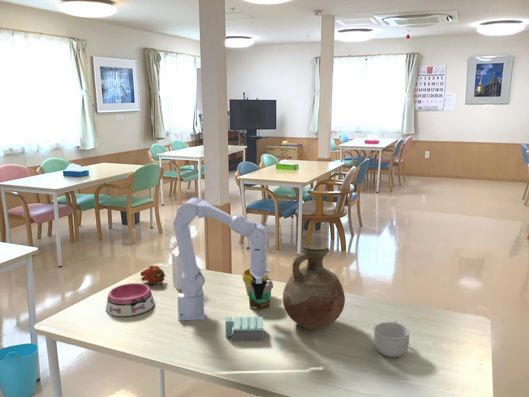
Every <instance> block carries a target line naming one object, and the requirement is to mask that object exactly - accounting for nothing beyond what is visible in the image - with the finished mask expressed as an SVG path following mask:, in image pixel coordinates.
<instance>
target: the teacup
mask: <svg viewBox="0 0 529 397" xmlns="http://www.w3.org/2000/svg"><path fill="white" fill-rule="evenodd" d="M410 333H411V332H410V328H408V327H407V326H406V325H404V324H402V323H399V322H398V323H397V320H395V319H391V321H384V322H380V323H378V324H376V325H375V326H374V327H373V338H374V346H375V348H376V350H377V351H378V352H379V353H380V354H382V355H383V356H386V357H389V358H399V357H401V356H402V355H405V353H406V352H408V349H409V344H410Z"/></svg>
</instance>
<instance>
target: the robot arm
mask: <svg viewBox="0 0 529 397" xmlns="http://www.w3.org/2000/svg"><path fill="white" fill-rule="evenodd" d="M207 217H208V218H211V219H213V220H215V221H218V222H220V223H223V224H224V225H228V226H229V229H230V230H231V231H233V232H235V233H236V234H238V235H241V236H243V237H245V238H248V240H249V242H250V246H249V247H250V248H249V252H250V255H249V257H250V259H249V260H250V268H249V269H250V274H251V275H252V278H253V280H251V285H252V287H253V289H254V294H255V298H256V300H261V299H262V296H263V291H264V288H265V286H266V284H267V281H263V278H264V276H265V275H266V273H268V274H270V269H269V268H268V269H267V236H268V229H267V227H266V225H264V224H263V223H259V222H258V223H257V222H256V221H254V222H253V221H251V220H249V219H247V218H245V215H242V214H241V215H233V216H232V215H231V214H229V213H227V212H225V211H224V210H222V209H220V208H218V207H216V206H214V205H213V204H211V203H209V202H208V201H206V200H203V199H201V198H198V197H191V198H190V199H188V200H187V201H185V202H184V203H182V204H181V205H180V206H179V207H178V208H177V209H176V215H175V217H174V220H173V223H172V224H173V225H172V226H173V230H174V235H175V239H176V240H175V241H176V244H177V246H178V249H179V254H180V258H181V263H182V268H183V274H182V286H181V290H180V291H181V293H178V296H177V316H178V319H177V320H178V322H179V321H180V322H182V321H188V320H189V321H190V320H192V321H193V320H205V317H206V313H207V312H206V311H207V310H206V309H205V302H204V301H205V300H204V299H205V298H204V296H205V295H204V290H203V286H204V285H205V283H206V279H205V276H204V275H203V274H202V271H201V268H200V267H199V266H198V264H197V259H196V254H195V249H194V245H193V240H192V235H191V231H190V230H191V229H190V226H189V225H190V224H191V223H192V222H193V221H194V220H195V218H197V219H201V218H207Z"/></svg>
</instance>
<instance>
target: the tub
mask: <svg viewBox="0 0 529 397" xmlns="http://www.w3.org/2000/svg"><path fill="white" fill-rule="evenodd" d="M232 342H233V343H235V342H264V330H263V331H233V330H232Z"/></svg>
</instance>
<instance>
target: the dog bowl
mask: <svg viewBox="0 0 529 397" xmlns="http://www.w3.org/2000/svg"><path fill="white" fill-rule="evenodd" d="M155 305H156V302H155V299H154V296H153V293H152V290H151V288H150V286H148V285H147V284H144V283H138V282H135V283H134V282H133V283H132V282H131V283H124V284H121V285H118V286H115V287H113V288H112V289H110V290H109V292H108V294H107V300H106V306H105V309H106V310H105V313H106V312H107V313H108V314H107V313H106V314H107V315H109V314H110V315H109V316H111V315H112V316H111V317H114V316H116V317H115V318H133V317H137V316H141V315H144V314H146V313H149V312H150V311H151V310H153V309H154V307H155Z"/></svg>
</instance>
